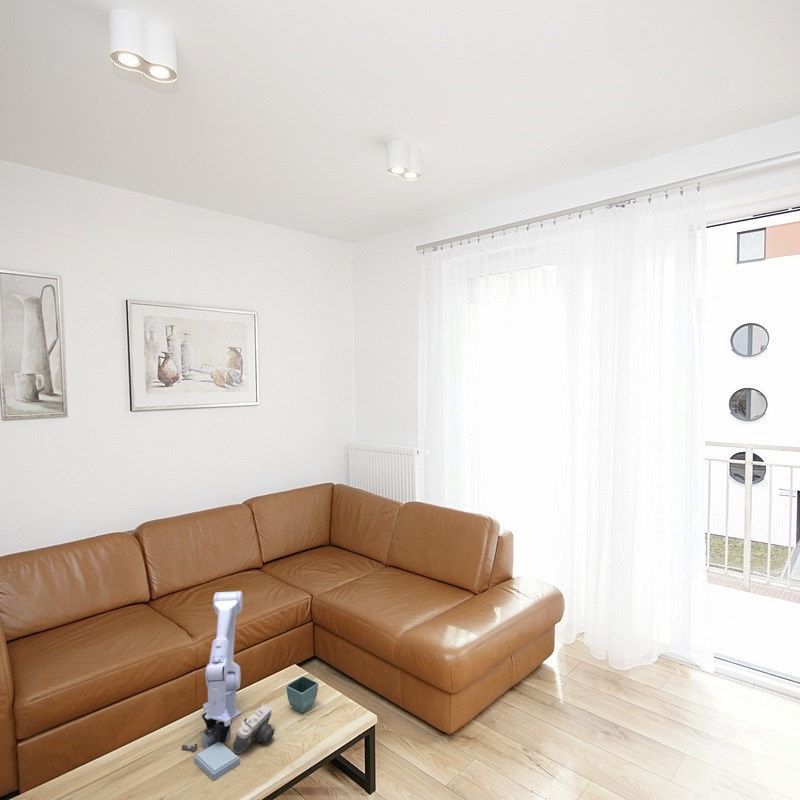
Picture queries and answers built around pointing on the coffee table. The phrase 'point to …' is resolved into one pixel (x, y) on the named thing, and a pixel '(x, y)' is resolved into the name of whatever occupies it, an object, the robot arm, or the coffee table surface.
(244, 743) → the camera
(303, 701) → the flower pot
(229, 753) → the stand
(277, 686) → the coffee table surface
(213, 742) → the block
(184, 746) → the bolt
